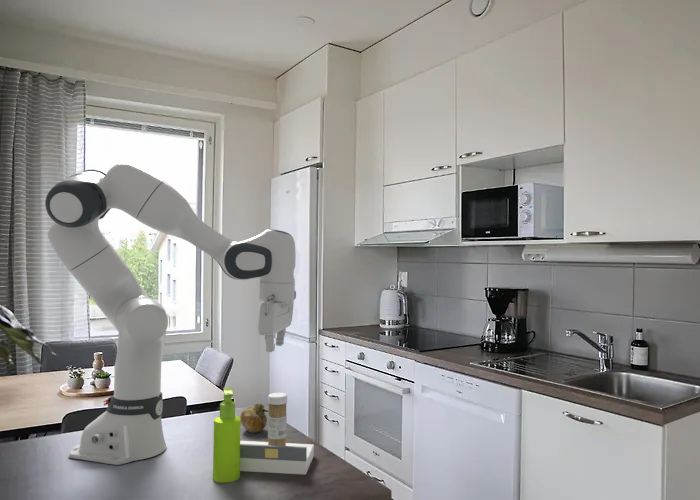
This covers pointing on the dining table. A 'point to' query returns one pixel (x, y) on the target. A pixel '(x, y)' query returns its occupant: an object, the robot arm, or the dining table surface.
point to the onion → (254, 418)
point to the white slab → (275, 457)
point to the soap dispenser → (226, 441)
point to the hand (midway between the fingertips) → (275, 348)
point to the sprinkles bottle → (277, 419)
